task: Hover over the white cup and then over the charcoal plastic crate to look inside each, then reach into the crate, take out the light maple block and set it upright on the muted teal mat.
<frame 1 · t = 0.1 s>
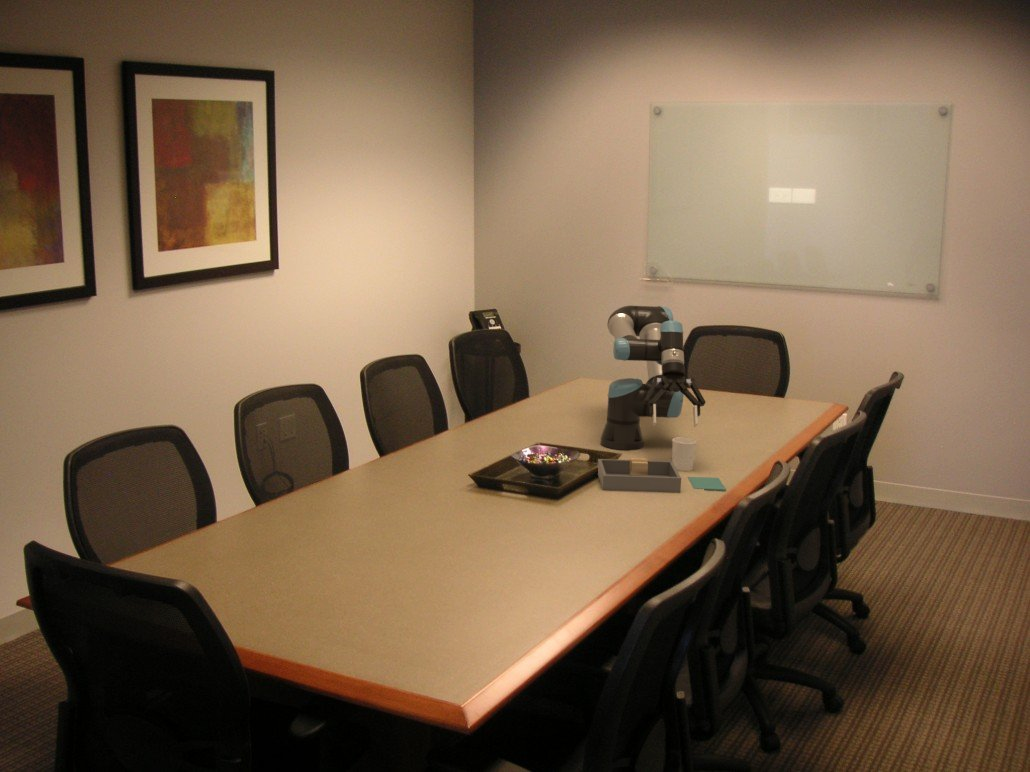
hand: (675, 424, 359), 15 cm above the table, tool tilted 35°, fingers open, 13 cm apart
crate: (637, 483, 346), on the table
maple block: (637, 482, 346), resting on crate
white cup: (682, 470, 363), on the table
teal mat: (706, 484, 348), on the table
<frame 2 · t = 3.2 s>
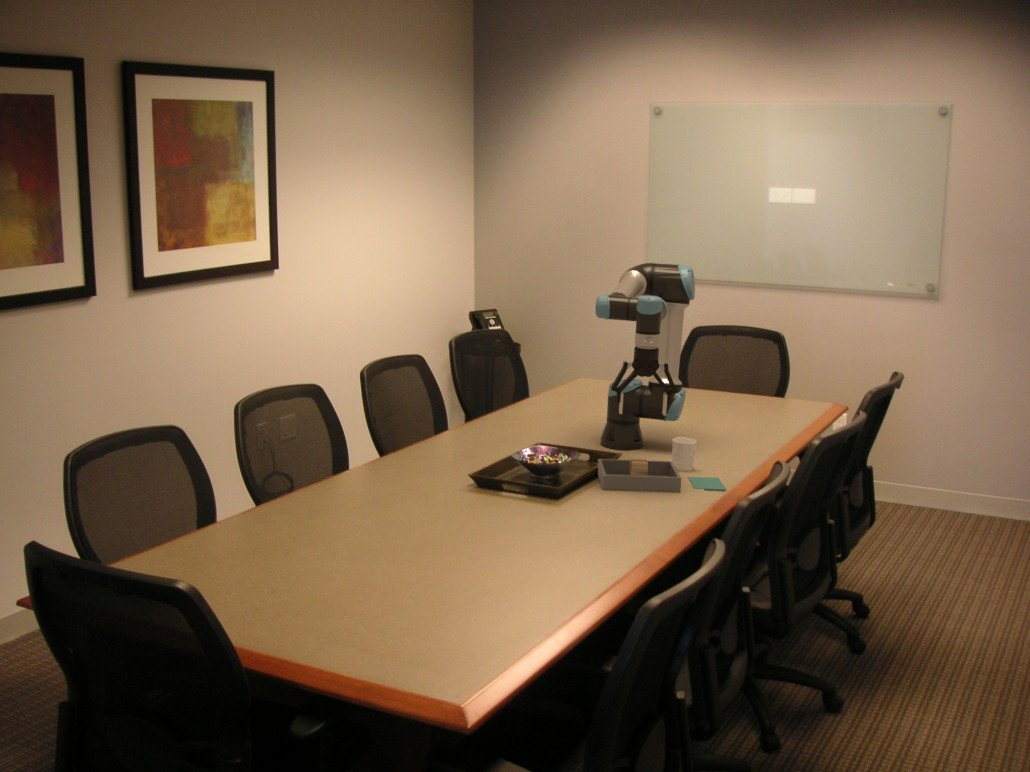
hand: (642, 413, 341), 23 cm above the table, tool pointing down, fingers open, 13 cm apart
nothing on the table moved.
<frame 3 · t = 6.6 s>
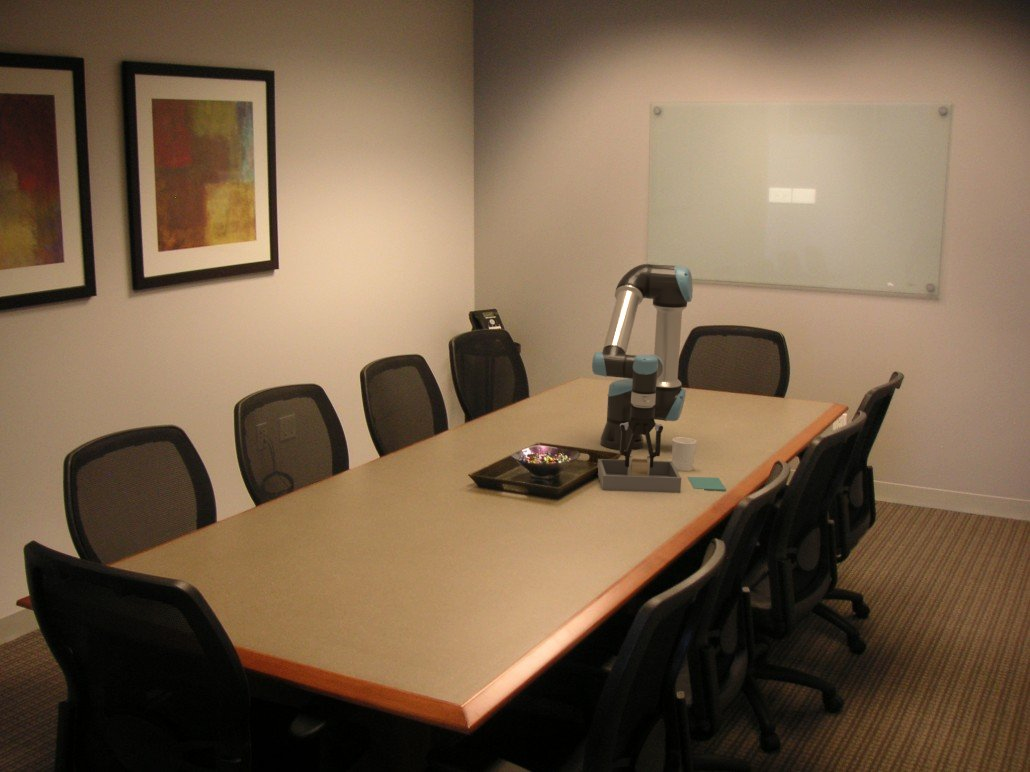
hand: (638, 476, 346), 2 cm above the table, tool pointing down, fingers closed on maple block, 5 cm apart
maple block: (637, 482, 346), point 1 cm above the table, touching crate, gripper
everything else where it was.
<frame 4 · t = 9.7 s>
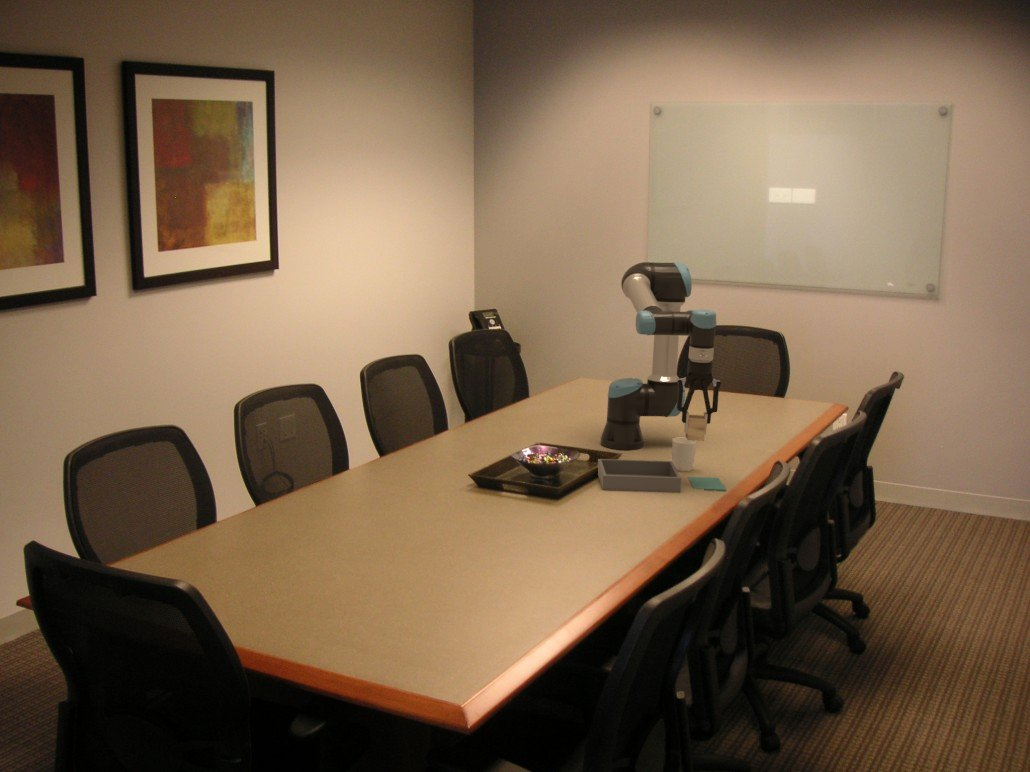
hand: (695, 433, 344), 17 cm above the table, tool pointing down, fingers closed on maple block, 5 cm apart
maple block: (694, 438, 344), point 15 cm above the table, touching gripper
everything else where it was.
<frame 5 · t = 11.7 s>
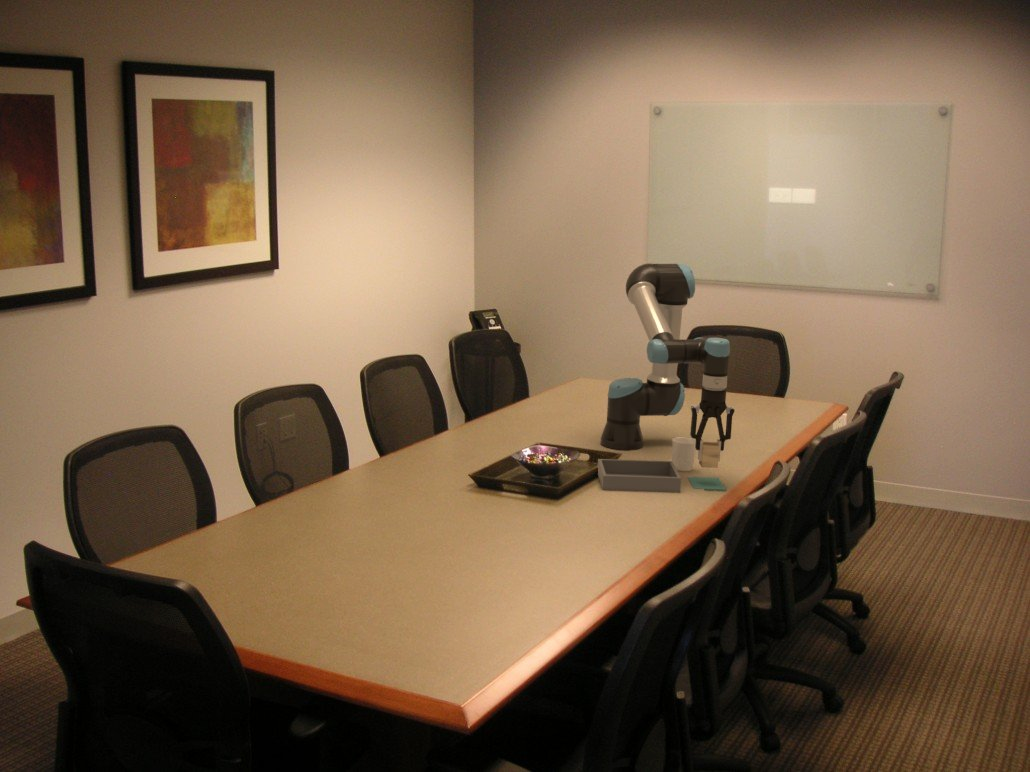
hand: (708, 459, 346), 8 cm above the table, tool pointing down, fingers closed on maple block, 5 cm apart
maple block: (708, 465, 346), point 7 cm above the table, touching gripper
everything else where it was.
when the fingers open (4 cm above the table, at t = 13.2 s): maple block drops 1 cm, resting on teal mat.
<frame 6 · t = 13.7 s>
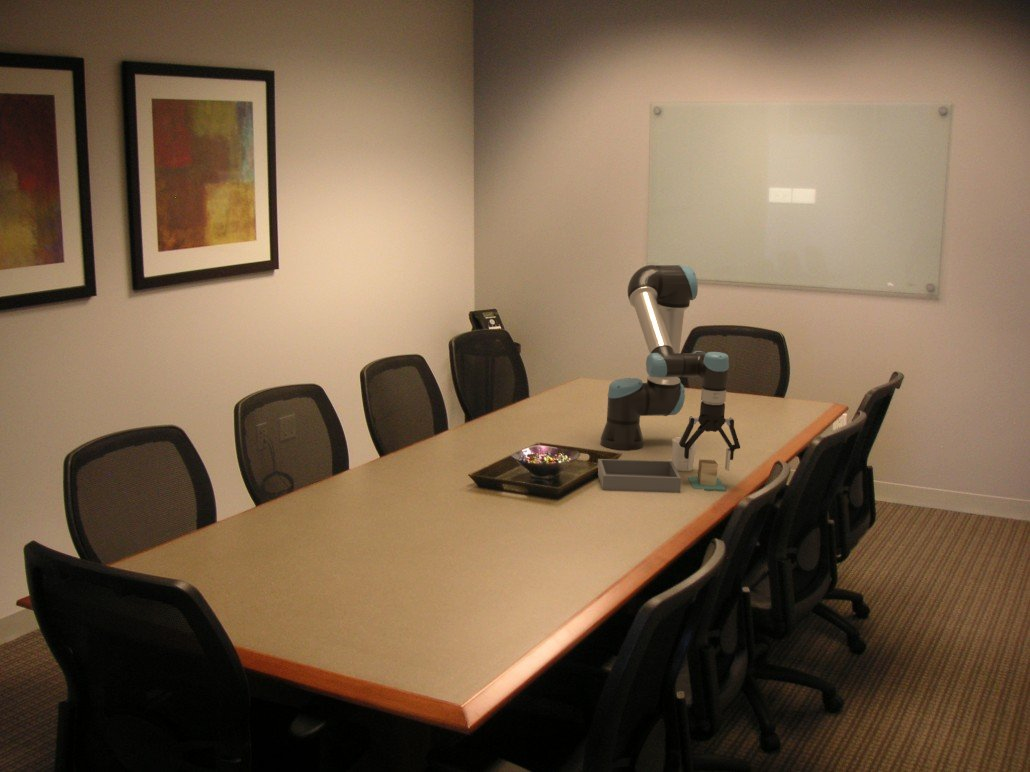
hand: (707, 469, 347), 5 cm above the table, tool pointing down, fingers open, 11 cm apart
maple block: (706, 483, 348), point 1 cm above the table, touching teal mat
everything else where it was.
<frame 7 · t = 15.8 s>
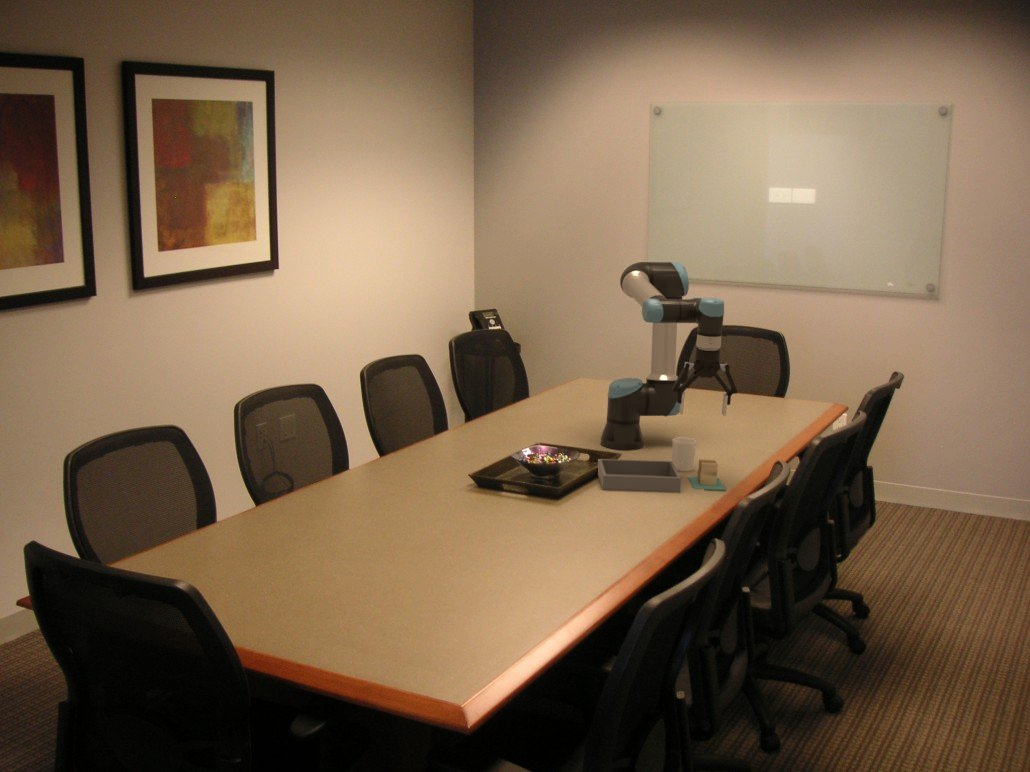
hand: (702, 414, 346), 22 cm above the table, tool pointing down, fingers open, 13 cm apart
nothing on the table moved.
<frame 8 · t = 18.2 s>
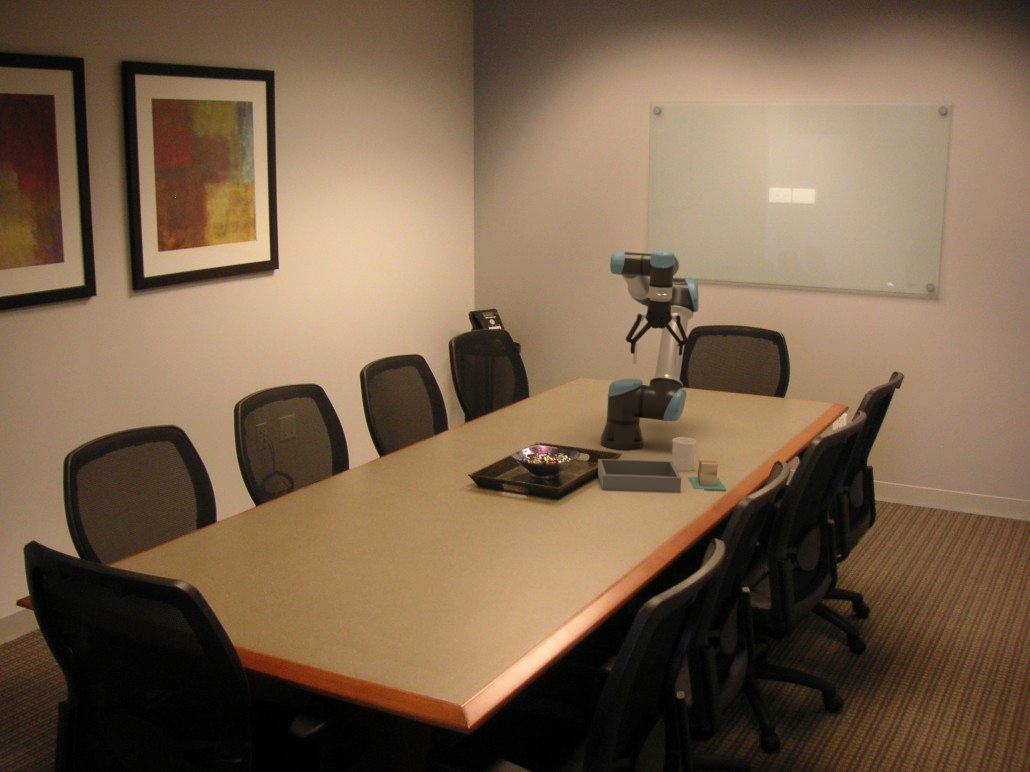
hand: (655, 364, 357), 35 cm above the table, tool pointing down, fingers open, 13 cm apart
nothing on the table moved.
at the end: maple block inside the target area on the teal mat (0.0 cm from its centre), point 0.6 cm above the teal mat's base; maple block tilted 0°; the gripper is holding nothing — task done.
